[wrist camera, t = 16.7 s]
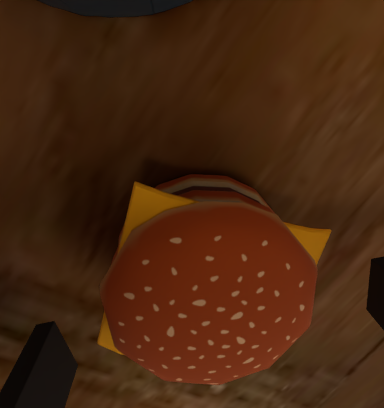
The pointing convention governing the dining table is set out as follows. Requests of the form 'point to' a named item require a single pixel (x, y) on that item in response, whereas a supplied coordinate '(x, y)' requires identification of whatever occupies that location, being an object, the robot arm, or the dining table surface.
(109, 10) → the blue pot
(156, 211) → the hamburger
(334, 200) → the dining table surface
